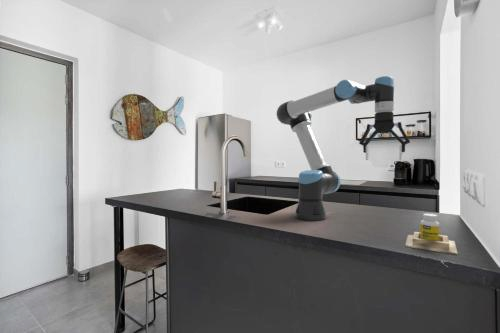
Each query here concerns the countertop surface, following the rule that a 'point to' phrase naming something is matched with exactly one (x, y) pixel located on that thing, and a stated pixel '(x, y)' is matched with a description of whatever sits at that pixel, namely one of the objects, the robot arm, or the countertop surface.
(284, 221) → the countertop surface
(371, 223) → the countertop surface
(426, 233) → the supplement bottle
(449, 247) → the beige square tray
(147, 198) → the countertop surface
